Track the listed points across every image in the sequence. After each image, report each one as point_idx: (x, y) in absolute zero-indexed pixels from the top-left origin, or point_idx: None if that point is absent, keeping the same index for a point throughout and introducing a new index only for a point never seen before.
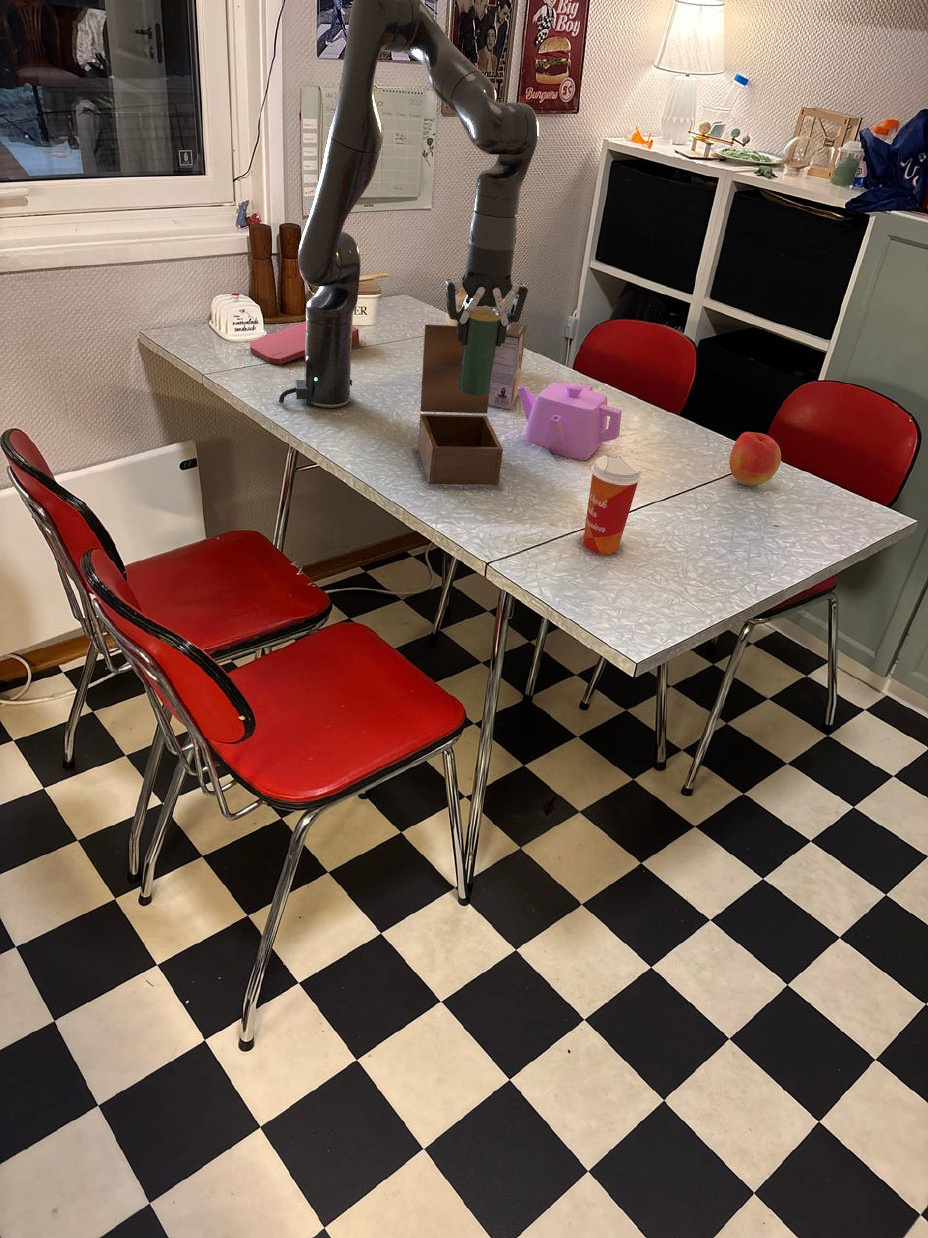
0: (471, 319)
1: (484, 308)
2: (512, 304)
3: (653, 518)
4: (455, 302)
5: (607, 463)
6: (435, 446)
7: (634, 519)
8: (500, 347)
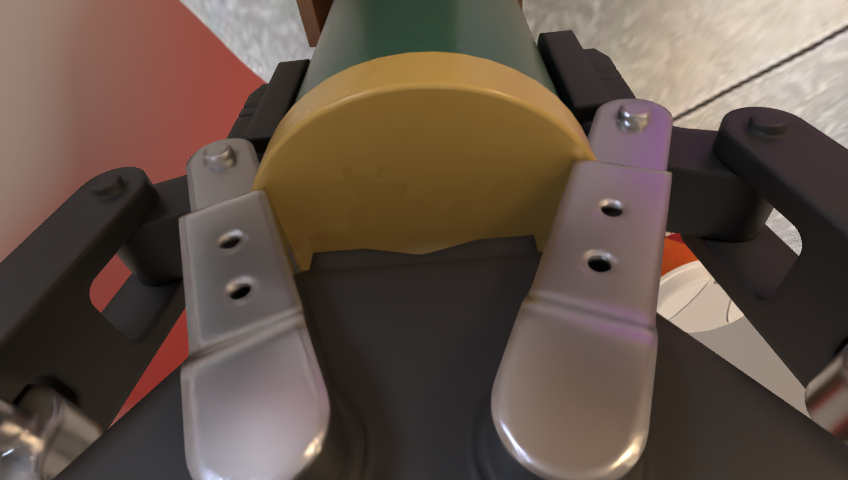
0: None
1: (438, 215)
2: (801, 214)
3: (827, 80)
4: (139, 374)
5: (686, 304)
6: (316, 37)
7: (777, 89)
8: None
